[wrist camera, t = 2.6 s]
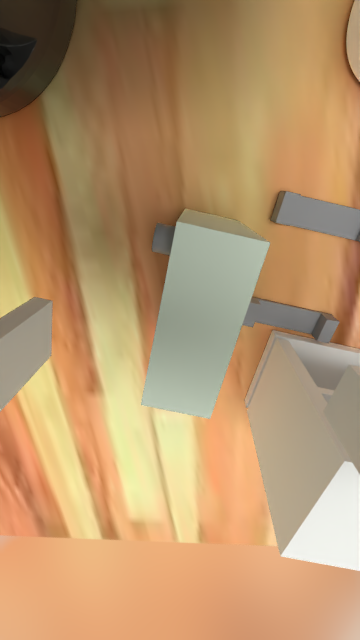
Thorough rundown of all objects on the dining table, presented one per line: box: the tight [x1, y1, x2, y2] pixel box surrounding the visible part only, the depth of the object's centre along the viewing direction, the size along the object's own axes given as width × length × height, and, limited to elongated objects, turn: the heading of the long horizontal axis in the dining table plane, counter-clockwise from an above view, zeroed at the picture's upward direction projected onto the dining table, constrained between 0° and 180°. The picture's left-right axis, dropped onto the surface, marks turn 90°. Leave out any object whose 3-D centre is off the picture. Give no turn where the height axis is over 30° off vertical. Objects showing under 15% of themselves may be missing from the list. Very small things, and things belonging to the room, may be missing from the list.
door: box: [141, 208, 270, 419], centre depth 18 cm, size 10×5×10 cm, turn 168°
